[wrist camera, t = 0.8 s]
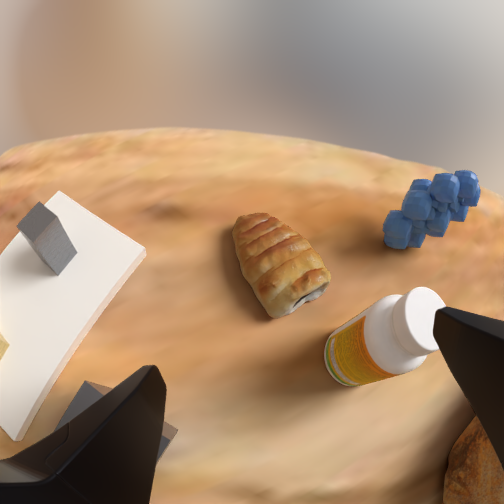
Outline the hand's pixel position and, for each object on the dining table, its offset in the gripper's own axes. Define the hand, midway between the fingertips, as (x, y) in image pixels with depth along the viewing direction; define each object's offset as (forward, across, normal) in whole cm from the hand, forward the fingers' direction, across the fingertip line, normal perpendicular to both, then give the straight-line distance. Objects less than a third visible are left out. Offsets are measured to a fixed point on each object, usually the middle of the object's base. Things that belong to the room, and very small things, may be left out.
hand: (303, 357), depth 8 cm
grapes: (+23, -15, +5) cm, 28 cm away
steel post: (+12, +17, -2) cm, 22 cm away
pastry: (+17, 0, +4) cm, 17 cm away
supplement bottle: (+12, -5, +11) cm, 17 cm away
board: (+10, +20, 0) cm, 23 cm away
